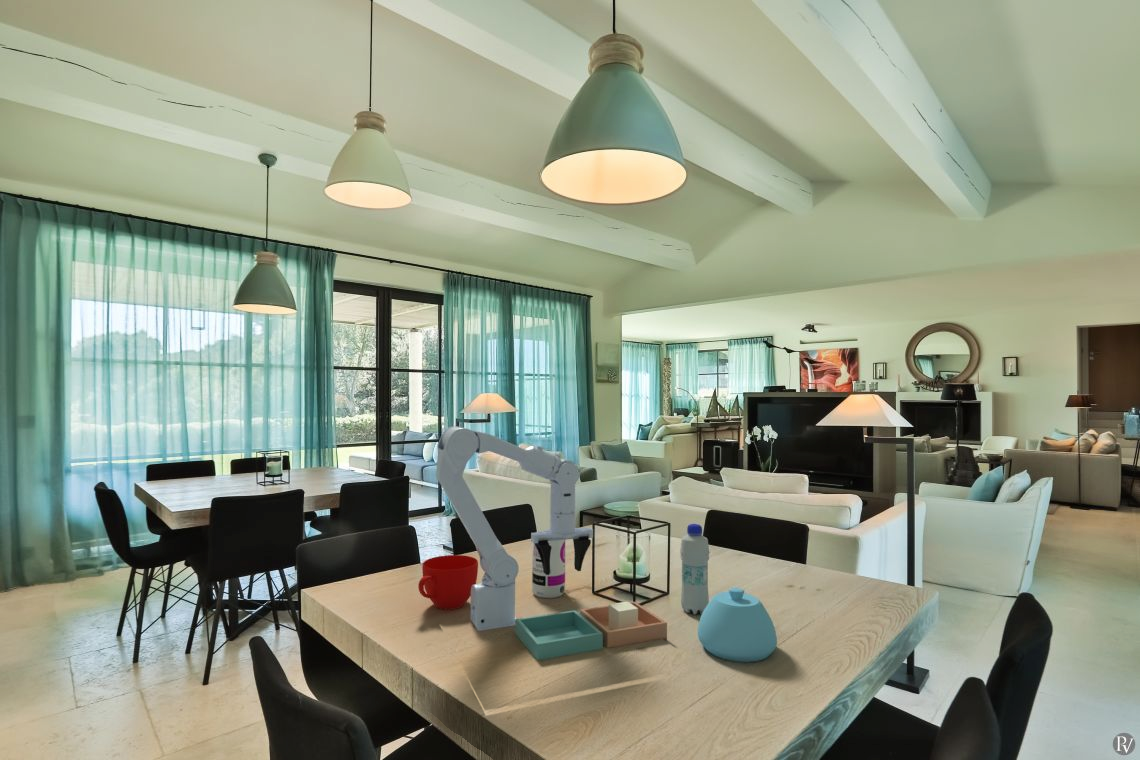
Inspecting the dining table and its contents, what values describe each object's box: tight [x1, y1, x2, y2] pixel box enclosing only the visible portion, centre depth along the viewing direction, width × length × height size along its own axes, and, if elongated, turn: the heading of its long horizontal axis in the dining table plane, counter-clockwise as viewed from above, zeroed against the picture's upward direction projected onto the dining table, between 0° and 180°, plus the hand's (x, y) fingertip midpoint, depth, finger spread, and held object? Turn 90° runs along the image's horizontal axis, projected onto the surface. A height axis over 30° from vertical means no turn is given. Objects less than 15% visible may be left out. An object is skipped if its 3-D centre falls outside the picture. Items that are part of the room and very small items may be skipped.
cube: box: [608, 601, 638, 630], centre depth 123 cm, size 4×4×5 cm
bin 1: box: [515, 610, 604, 661], centre depth 118 cm, size 13×13×4 cm
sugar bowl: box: [697, 587, 778, 663], centre depth 117 cm, size 15×15×12 cm
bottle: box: [679, 523, 710, 615], centre depth 137 cm, size 7×7×20 cm
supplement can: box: [531, 529, 566, 599], centre depth 148 cm, size 8×8×15 cm
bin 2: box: [579, 601, 668, 649], centre depth 124 cm, size 13×13×4 cm
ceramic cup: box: [418, 554, 479, 610], centre depth 138 cm, size 13×17×10 cm
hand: (562, 571), depth 135 cm, fingers open, 7 cm apart
